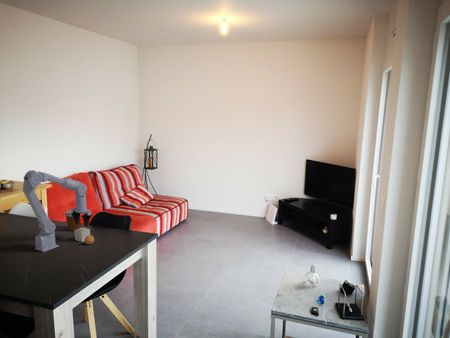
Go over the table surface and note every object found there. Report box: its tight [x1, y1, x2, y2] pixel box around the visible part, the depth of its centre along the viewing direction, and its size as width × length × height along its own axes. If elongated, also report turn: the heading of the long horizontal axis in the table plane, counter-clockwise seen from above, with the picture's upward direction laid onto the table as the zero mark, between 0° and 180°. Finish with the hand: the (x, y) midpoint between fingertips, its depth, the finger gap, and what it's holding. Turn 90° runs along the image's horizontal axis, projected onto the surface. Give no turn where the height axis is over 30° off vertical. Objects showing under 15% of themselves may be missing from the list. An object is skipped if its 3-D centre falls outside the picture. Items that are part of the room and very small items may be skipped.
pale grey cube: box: [74, 226, 91, 243], centre depth 206 cm, size 6×6×6 cm
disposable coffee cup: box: [64, 209, 82, 232], centre depth 220 cm, size 10×10×12 cm
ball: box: [84, 234, 95, 245], centre depth 199 cm, size 5×5×5 cm
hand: (82, 224), depth 205 cm, fingers open, 7 cm apart
